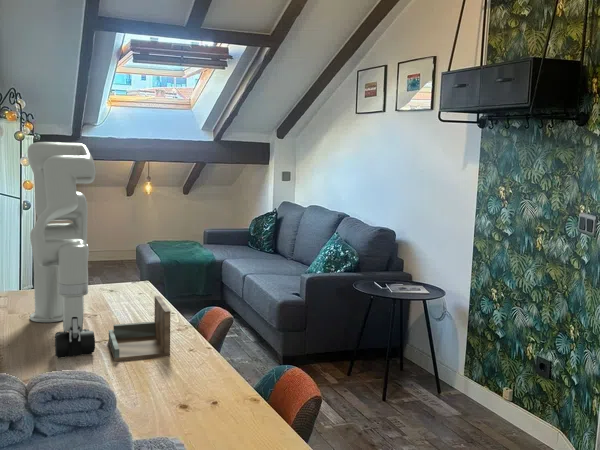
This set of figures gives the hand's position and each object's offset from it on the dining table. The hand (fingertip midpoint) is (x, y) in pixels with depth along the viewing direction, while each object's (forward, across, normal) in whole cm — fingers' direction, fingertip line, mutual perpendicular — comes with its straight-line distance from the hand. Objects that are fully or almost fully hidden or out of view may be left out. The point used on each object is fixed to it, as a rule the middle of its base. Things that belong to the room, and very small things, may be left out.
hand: (74, 350), depth 171 cm
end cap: (+2, 0, 0) cm, 2 cm away
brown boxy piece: (+2, -1, +17) cm, 17 cm away
